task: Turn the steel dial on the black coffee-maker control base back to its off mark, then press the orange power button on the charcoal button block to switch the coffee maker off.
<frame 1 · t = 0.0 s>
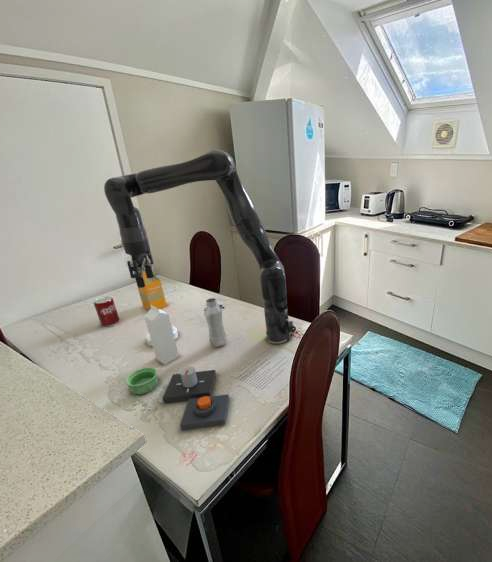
hand: (146, 282, 112), 29 cm above the table, tool pointing down, fingers open, 8 cm apart
ramekin: (145, 386, 105), on the table
button block: (206, 414, 93), on the table
brew dial: (188, 376, 101), point 5 cm above the table, hinge at 90.0°
soda can: (110, 323, 143), on the table
brew base: (191, 388, 103), on the table
orange juice: (155, 307, 157), on the table
milk: (167, 358, 119), on the table
power button: (204, 402, 92), point 5 cm above the table, slide at 0.2 cm
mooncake: (163, 339, 131), on the table
plastic bottle: (219, 344, 127), on the table
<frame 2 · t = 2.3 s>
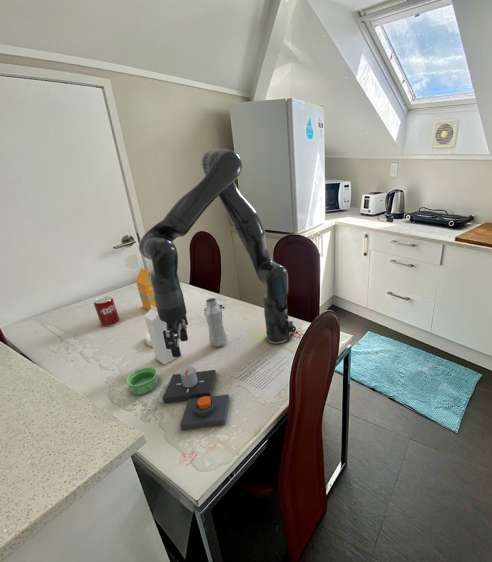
hand: (180, 348, 98), 16 cm above the table, tool pointing down, fingers open, 8 cm apart
nothing on the table moved.
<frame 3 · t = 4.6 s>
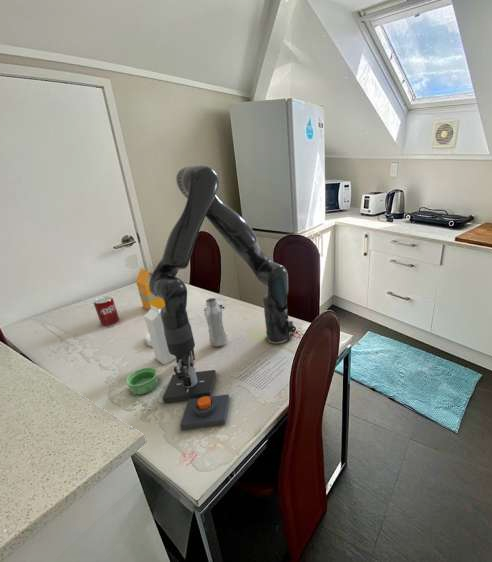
hand: (189, 380, 102), 4 cm above the table, tool pointing down, fingers closed on brew dial, 4 cm apart
brew dial: (188, 376, 101), point 5 cm above the table, hinge at 90.0°, touching gripper
everything else where it was.
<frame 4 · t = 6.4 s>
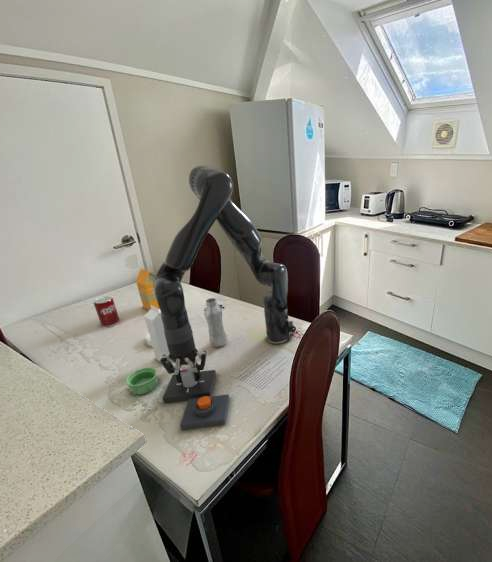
hand: (189, 380, 102), 4 cm above the table, tool pointing down, fingers closed on brew dial, 4 cm apart
brew dial: (188, 376, 101), point 5 cm above the table, hinge at -3.5°, touching gripper
everything else where it was.
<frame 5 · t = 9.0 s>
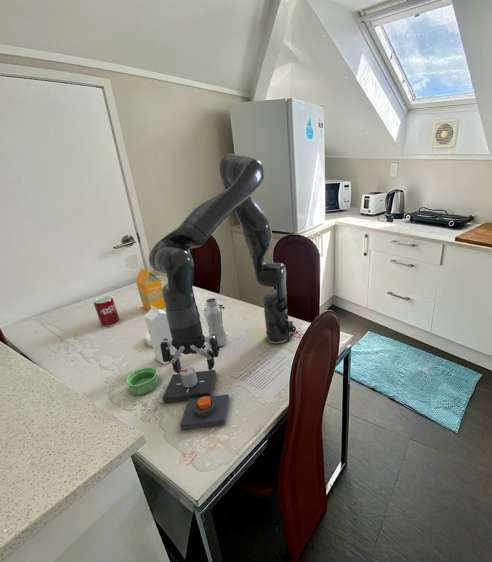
hand: (195, 370, 87), 16 cm above the table, tool pointing down, fingers open, 8 cm apart
brew dial: (188, 376, 101), point 5 cm above the table, hinge at -3.2°
everything else where it was.
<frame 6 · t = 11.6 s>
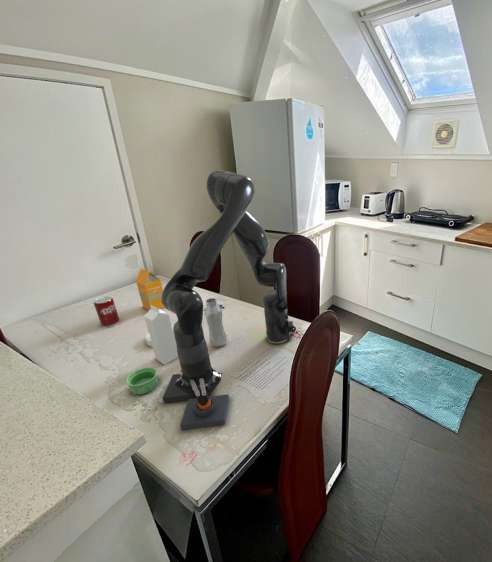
hand: (204, 402, 91), 5 cm above the table, tool pointing down, fingers closed
power button: (204, 404, 92), point 4 cm above the table, slide at -0.6 cm, touching gripper
everything else where it was.
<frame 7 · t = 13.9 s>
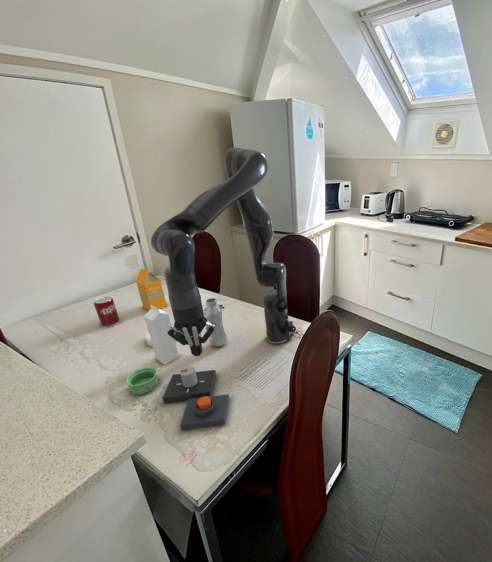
hand: (197, 354, 90), 19 cm above the table, tool pointing down, fingers closed
power button: (204, 402, 92), point 5 cm above the table, slide at 0.2 cm
everything else where it was.
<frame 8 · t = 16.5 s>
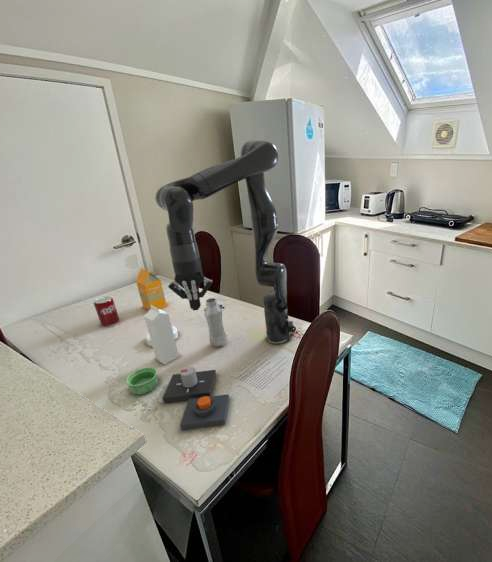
hand: (196, 309, 98), 27 cm above the table, tool pointing down, fingers closed
nothing on the table moved.
at the end: brew dial at -3° (first picture: +90°); power button pushed in 1.1 cm at the most during the clip, back to 0.2 cm at the end; power button slide at 0.2 cm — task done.
